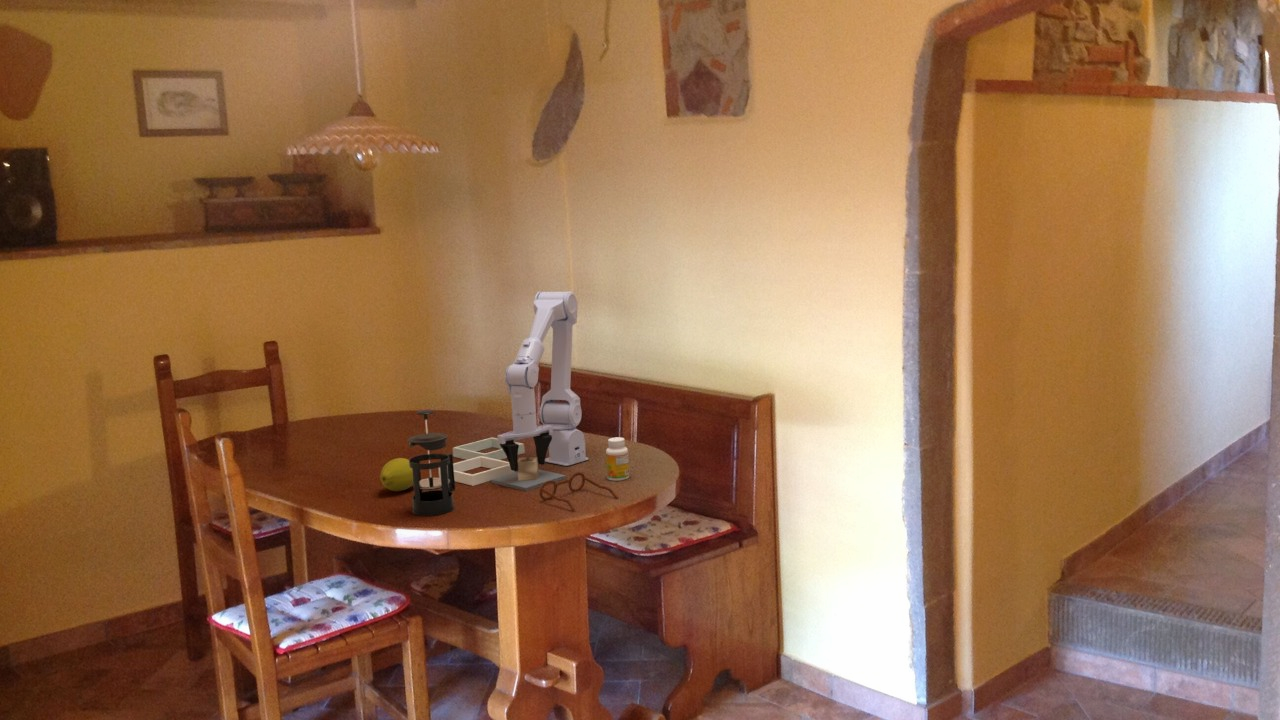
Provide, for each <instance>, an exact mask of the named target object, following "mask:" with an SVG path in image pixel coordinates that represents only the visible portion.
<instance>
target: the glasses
mask: <svg viewBox="0 0 1280 720" xmlns="http://www.w3.org/2000/svg"><path fill="white" fill-rule="evenodd" d="M577 476H581V478H582V481H581V483H580V486H579V487H577V488H575V489H574V488H573V487H572V483H573V482H572V481H573V479H574V478H576V477H577ZM586 482H588V483H590V484H592V485H593V486H595V487H597V488H599V489H603V490H607V491H608V492H609V493H610V494H611V495H612V496H613V497H614V498H615V499H616V500H619V499H620V497H619V496H618V495H617V494H616V493H615V492H614V490H612V488H610V487H608V486H605V485H601V484H599V483H597V482H596V481H594V480H592V479H591V478H589V477H587V476H585V474H584V473H583V472H574V473H573V474H572V475H571V477H569V479H563V480H560V481H557V482H554V481H552V480H549V481H546V482H545V483H543V484H542V486H541V487H539V492H538V493H539V494H538V495H539V497H540V499H541V500H542V501H548V500H550V498H551V499H554V500H556V501H557V502H565V503H567V504H568V506H569V507H570V509H571V511H572V512H573V513H577V510H576V509H575V507H574V505H572V503H571V502H570V500H568V499H566V498H565V497H564V498H563V497H558V495H557V496H556V492H557V489H558V488H557V487H558V486H560V485H563V484H567V483H568V488H569V490H570V491H571V492H573V493H575V492H574V491H576V492H579V491H581V490H582V489H583V488H584V486H585V484H586ZM549 483H551V484H553V490H552V492H550V491H549V490H547V489H545V487H546V485H547V486H548V485H550V484H549ZM578 490H579V491H578ZM543 493H544V494H546V495H548V496H547V497H545V496H543ZM547 499H548V500H547Z"/></svg>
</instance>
